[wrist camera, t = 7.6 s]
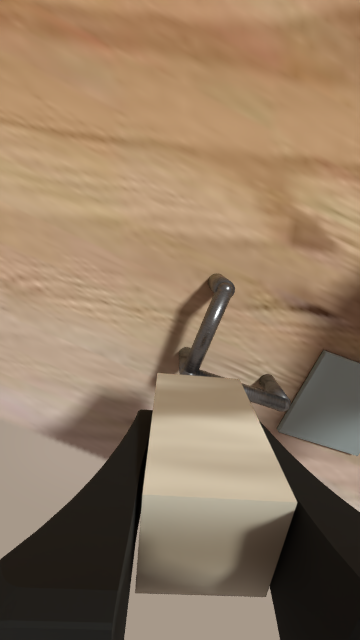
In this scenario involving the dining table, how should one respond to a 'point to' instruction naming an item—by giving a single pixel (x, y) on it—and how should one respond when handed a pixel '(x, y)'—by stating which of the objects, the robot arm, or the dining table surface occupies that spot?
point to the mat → (328, 405)
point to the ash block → (210, 493)
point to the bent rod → (194, 356)
